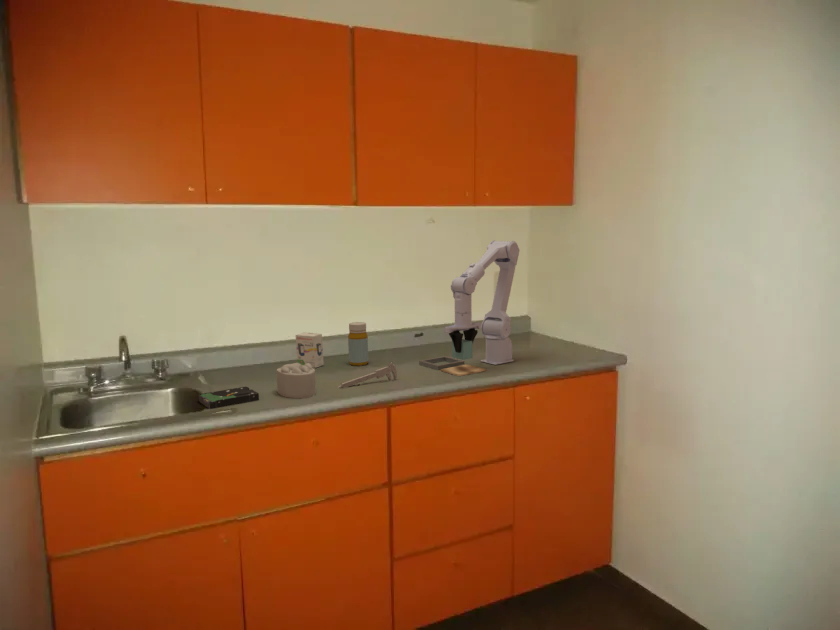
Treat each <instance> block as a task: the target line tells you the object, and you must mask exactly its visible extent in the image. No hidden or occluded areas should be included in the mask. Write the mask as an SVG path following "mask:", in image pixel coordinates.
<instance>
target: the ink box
mask: <svg viewBox="0 0 840 630" xmlns="http://www.w3.org/2000/svg"><path fill="white" fill-rule="evenodd" d="M295 347H296V359H297V360H296V363H299V364H301V365H305V364H306V363H309V364H311V365H312V368H314V369H315V368H319V367H323V366H324V351H323V350H324V348H323V334H322V333H318V332H306V331H305V332H300V333H298V334H295Z"/></svg>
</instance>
